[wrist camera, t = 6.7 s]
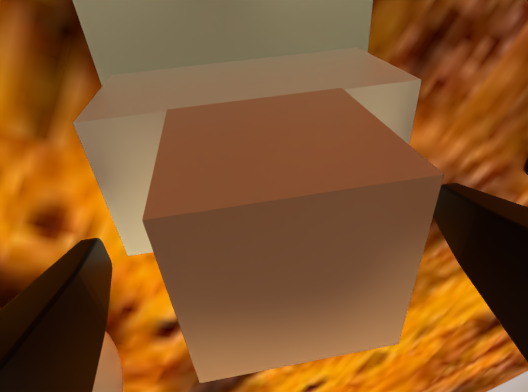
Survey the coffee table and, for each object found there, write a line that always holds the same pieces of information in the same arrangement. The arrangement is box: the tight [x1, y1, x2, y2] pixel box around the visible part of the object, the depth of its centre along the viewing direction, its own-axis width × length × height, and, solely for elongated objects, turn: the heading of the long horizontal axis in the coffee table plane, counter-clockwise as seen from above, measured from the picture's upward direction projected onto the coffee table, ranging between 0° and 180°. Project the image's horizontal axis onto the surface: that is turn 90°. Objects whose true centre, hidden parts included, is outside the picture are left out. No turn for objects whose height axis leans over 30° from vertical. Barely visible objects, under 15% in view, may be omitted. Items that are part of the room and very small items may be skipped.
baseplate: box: [73, 0, 373, 86], centre depth 15 cm, size 11×11×1 cm
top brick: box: [142, 88, 444, 383], centre depth 9 cm, size 5×5×5 cm
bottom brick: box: [73, 47, 421, 256], centre depth 13 cm, size 10×5×5 cm, turn 94°
